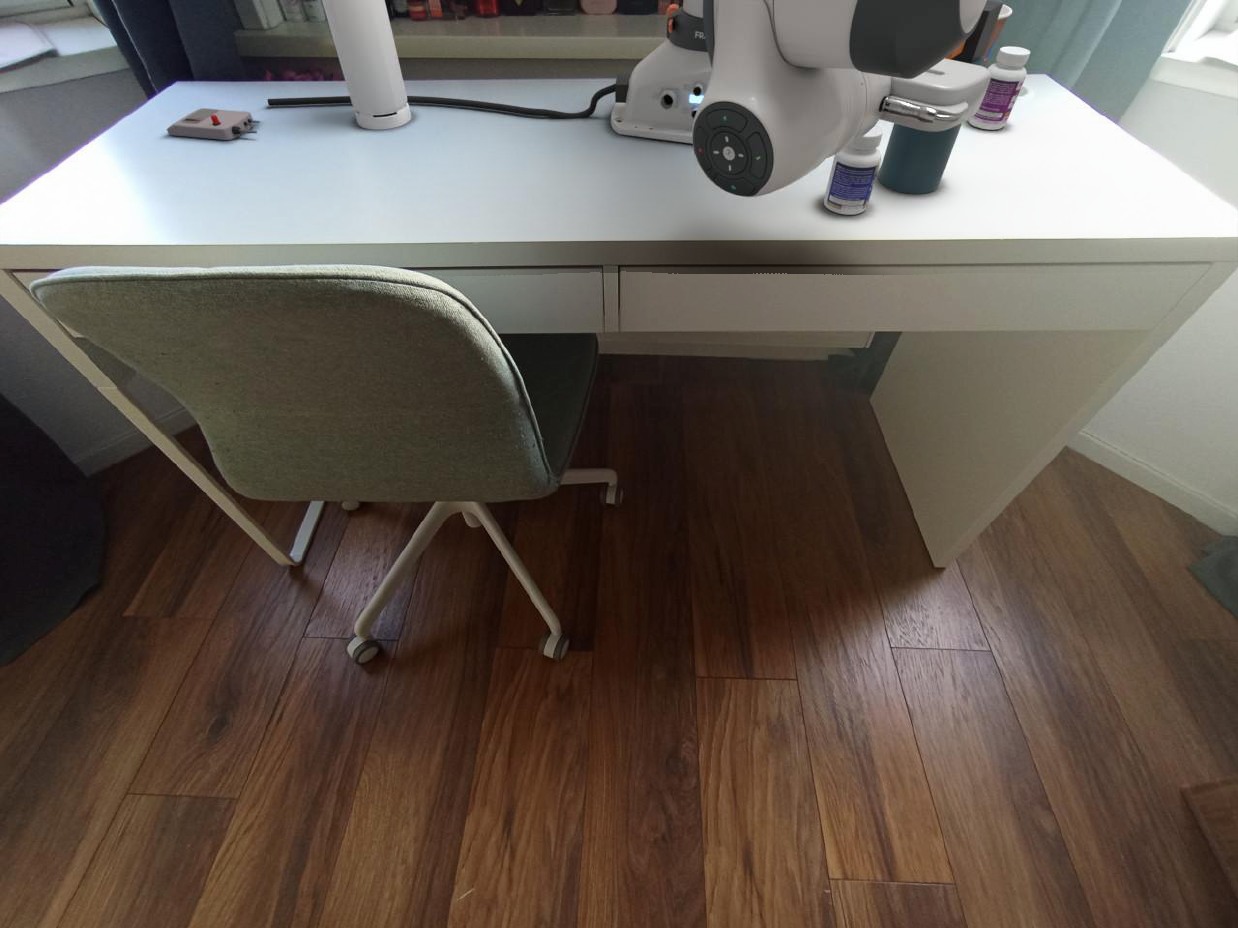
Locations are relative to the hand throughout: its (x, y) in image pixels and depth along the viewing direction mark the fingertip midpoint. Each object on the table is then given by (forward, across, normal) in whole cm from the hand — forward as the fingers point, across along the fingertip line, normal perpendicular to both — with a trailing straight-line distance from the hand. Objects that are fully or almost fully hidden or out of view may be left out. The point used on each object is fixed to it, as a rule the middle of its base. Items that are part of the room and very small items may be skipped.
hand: (900, 54), depth 61 cm
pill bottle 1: (+5, +3, +18) cm, 19 cm away
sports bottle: (+16, 0, +18) cm, 24 cm away
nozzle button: (+13, 0, +3) cm, 13 cm away
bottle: (-15, +70, +18) cm, 74 cm away
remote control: (-34, +86, +18) cm, 94 cm away
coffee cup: (+50, +8, +18) cm, 54 cm away
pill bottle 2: (+42, -1, +18) cm, 46 cm away
